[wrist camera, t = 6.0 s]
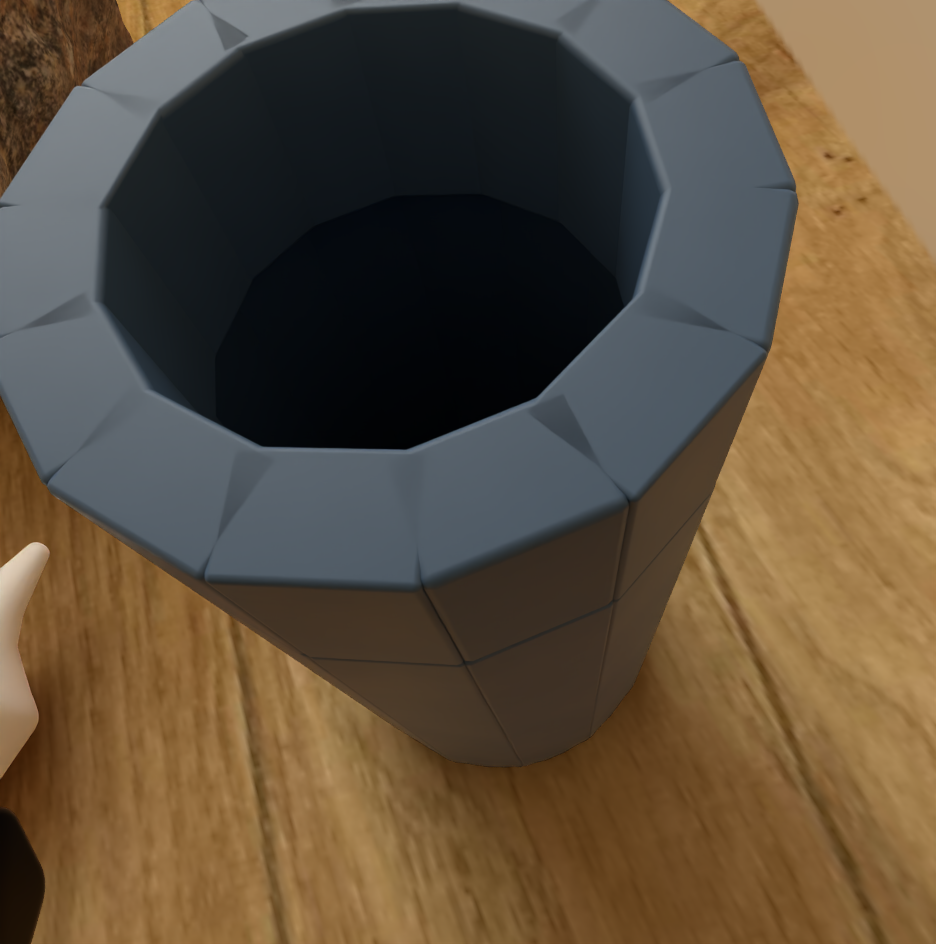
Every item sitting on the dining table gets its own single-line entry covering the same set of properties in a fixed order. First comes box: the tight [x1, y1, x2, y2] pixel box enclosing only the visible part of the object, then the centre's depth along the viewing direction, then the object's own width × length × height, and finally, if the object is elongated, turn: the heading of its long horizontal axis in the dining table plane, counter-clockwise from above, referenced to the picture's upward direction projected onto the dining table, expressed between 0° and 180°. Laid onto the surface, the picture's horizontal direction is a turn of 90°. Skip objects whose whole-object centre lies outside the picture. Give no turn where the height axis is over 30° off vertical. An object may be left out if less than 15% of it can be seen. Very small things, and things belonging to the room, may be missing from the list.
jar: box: [0, 0, 799, 767], centre depth 13 cm, size 7×7×14 cm
